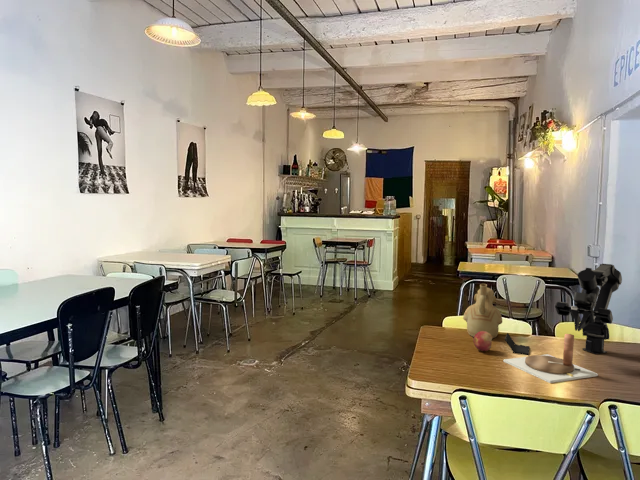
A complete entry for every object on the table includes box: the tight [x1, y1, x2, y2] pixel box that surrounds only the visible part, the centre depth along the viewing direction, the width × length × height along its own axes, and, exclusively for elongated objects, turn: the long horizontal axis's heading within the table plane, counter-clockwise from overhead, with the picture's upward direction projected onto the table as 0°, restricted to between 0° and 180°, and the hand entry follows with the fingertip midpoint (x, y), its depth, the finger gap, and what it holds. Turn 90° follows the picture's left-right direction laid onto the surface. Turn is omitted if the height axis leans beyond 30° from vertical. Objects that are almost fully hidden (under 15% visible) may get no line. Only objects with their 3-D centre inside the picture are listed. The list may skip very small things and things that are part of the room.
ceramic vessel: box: [462, 283, 503, 339], centre depth 209 cm, size 17×20×25 cm
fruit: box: [472, 331, 493, 352], centre depth 187 cm, size 8×8×8 cm
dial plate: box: [502, 353, 599, 384], centre depth 168 cm, size 22×22×1 cm
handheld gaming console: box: [504, 332, 531, 356], centre depth 189 cm, size 12×7×10 cm
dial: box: [525, 333, 575, 374], centre depth 167 cm, size 16×16×12 cm
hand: (577, 330), depth 170 cm, fingers closed
